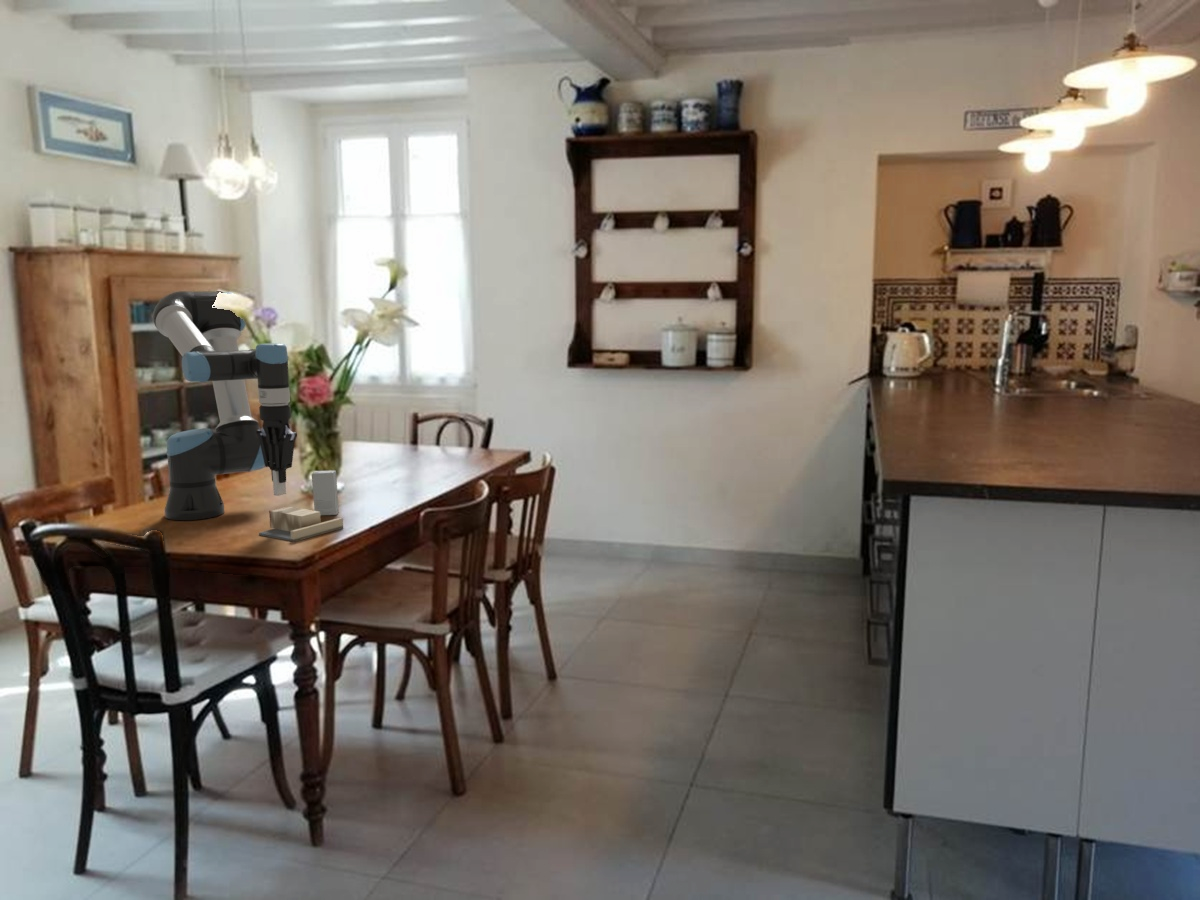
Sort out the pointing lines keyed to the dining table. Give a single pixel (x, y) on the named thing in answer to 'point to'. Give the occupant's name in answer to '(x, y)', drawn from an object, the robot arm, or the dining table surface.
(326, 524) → the slate mat
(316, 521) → the beech block
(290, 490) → the dining table surface
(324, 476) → the skincare box
